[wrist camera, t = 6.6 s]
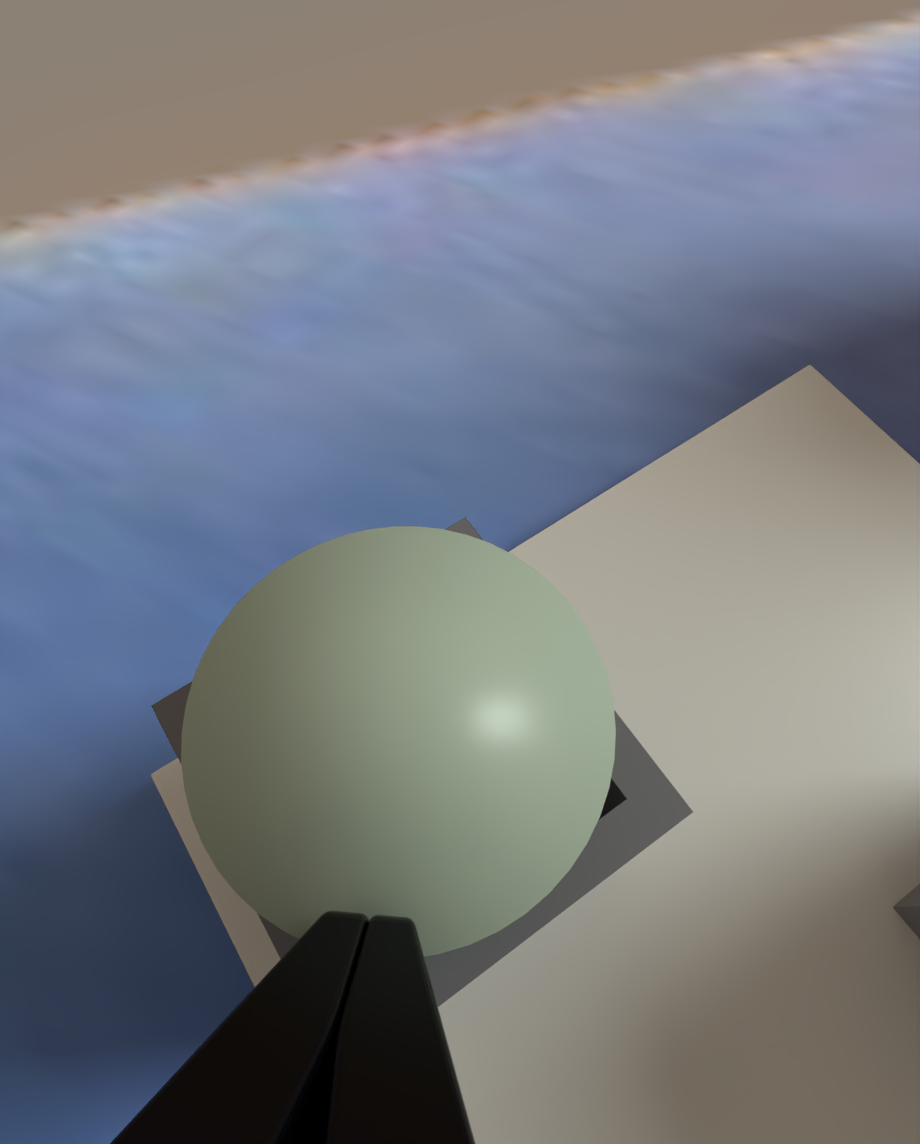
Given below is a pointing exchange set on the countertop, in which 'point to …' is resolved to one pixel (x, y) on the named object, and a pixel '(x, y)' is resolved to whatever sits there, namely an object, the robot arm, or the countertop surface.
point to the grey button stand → (713, 810)
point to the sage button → (399, 736)
